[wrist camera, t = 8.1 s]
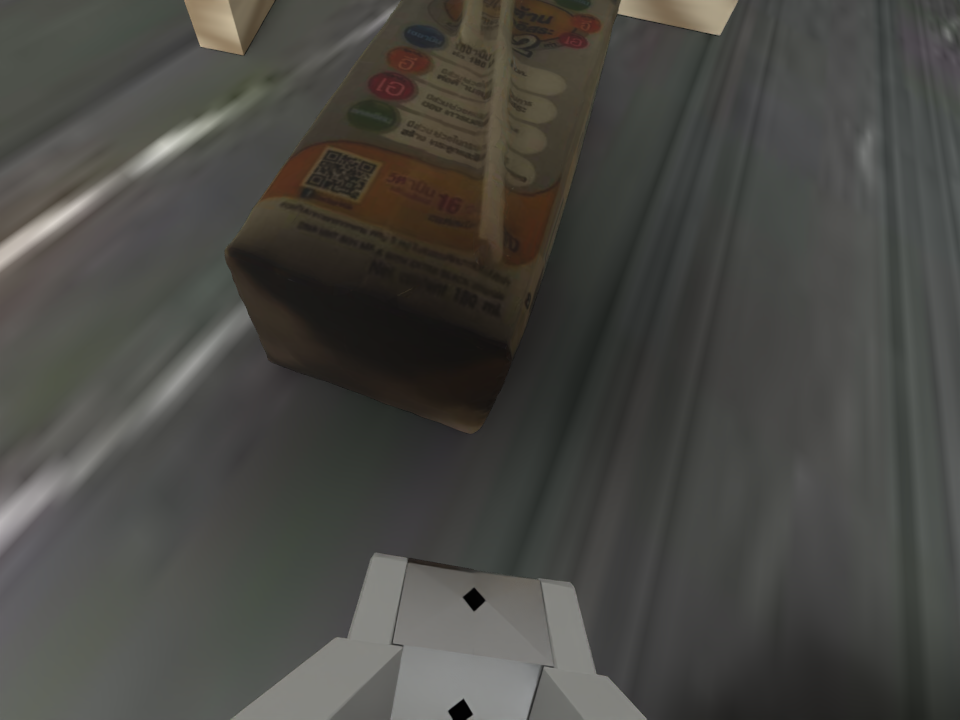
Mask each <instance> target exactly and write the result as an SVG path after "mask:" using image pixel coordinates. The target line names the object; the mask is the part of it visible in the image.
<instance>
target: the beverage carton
mask: <svg viewBox="0 0 960 720" xmlns="http://www.w3.org/2000/svg"><path fill="white" fill-rule="evenodd" d="M620 2H621V0H401V1H400V3H399V4H398V6H397V7H396V9H395V10H394V12H393V13H392V14H391V15H390V17H389V19H388V20H387V22H386V23H385V25H384V26H383V27H382V29H381V30H380V31H379V33H378V34H377V35H376V36H375V37H374V39H373V40H372V41H371V43H370V44H369V45H368V47H367V48H366V50H365V51H364V52H363V54H362V55H361V56H360V58H359V59H358V60H357V62H356V63H355V64H354V65H353V67H352V69H351V70H350V72H349V73H348V75H347V76H346V78H345V79H344V81H343V82H342V84H341V85H340V87H339V88H338V89H337V90H336V92H335V93H334V94H333V95H332V97H331V98H330V99H329V101H328V102H327V104H326V105H325V107H324V108H323V109H322V111H321V112H320V114H319V115H318V117H317V118H316V120H315V121H314V123H313V125H312V126H311V128H310V129H309V130H308V132H307V133H306V134H305V136H304V137H303V138H302V140H301V141H300V142H299V144H298V145H297V147H296V148H295V150H294V151H293V153H292V154H291V156H290V157H289V158H288V160H287V161H286V162H285V164H284V165H283V166H282V168H281V169H280V171H279V172H278V174H277V175H276V177H275V178H274V180H273V181H272V182H271V184H270V185H269V187H268V188H267V190H266V191H265V192H264V194H263V195H262V197H261V198H260V200H259V201H258V202H257V204H256V205H255V206H254V207H253V209H252V211H251V213H250V215H249V217H248V218H247V220H246V222H245V223H244V225H243V227H242V229H241V230H240V231H239V233H238V234H237V235H236V237H235V238H234V239H233V241H232V242H231V243H230V244H229V245H228V246H227V247H226V249H225V259H226V263H227V265H228V267H229V269H230V271H231V273H232V277H233V280H234V282H235V284H236V287H237V289H238V292H239V295H240V297H241V299H242V301H243V302H244V304H245V306H246V308H247V311H248V314H249V316H250V318H251V320H252V323H253V324H254V326H255V328H256V330H257V332H258V334H259V338H260V341H261V343H262V346H263V348H264V350H265V352H266V354H267V358H268V360H269V361H271V362H272V363H275V364H277V365H280V366H283V367H285V368H288V369H291V370H293V371H296V372H299V373H301V374H305V375H308V376H311V377H314V378H318V379H321V380H324V381H327V382H330V383H332V384H335V385H338V386H340V387H343V388H346V389H348V390H351V391H354V392H357V393H360V394H362V395H365V396H368V397H370V398H373V399H375V400H377V401H380V402H382V403H384V404H387V405H390V406H394V407H397V408H400V409H403V410H406V411H409V412H412V413H414V414H416V415H418V416H421V417H423V418H426V419H430V420H433V421H436V422H439V423H441V424H444V425H447V426H449V427H452V428H454V429H457V430H459V431H462V432H464V433H470V434H472V433H474V432H476V431H477V430H479V429H480V428H481V426H482V425H483V424H484V422H485V420H486V418H487V416H488V414H489V412H490V410H491V409H492V406H493V404H494V403H495V400H496V398H497V395H498V394H499V392H500V390H501V388H502V386H503V384H504V382H505V378H506V376H507V373H508V371H509V368H510V366H511V363H512V360H513V358H514V355H515V353H516V350H517V348H518V345H519V343H520V340H521V338H522V335H523V333H524V330H525V328H526V325H527V322H528V319H529V316H530V314H531V311H532V308H533V305H534V302H535V300H536V296H537V293H538V290H539V287H540V284H541V281H542V278H543V275H544V272H545V269H546V266H547V263H548V260H549V257H550V254H551V251H552V247H553V244H554V241H555V237H556V234H557V231H558V228H559V224H560V221H561V218H562V214H563V211H564V207H565V204H566V200H567V197H568V193H569V190H570V187H571V183H572V180H573V176H574V173H575V170H576V166H577V163H578V159H579V156H580V152H581V149H582V145H583V141H584V138H585V134H586V130H587V127H588V123H589V120H590V116H591V112H592V108H593V104H594V100H595V96H596V92H597V88H598V84H599V81H600V77H601V73H602V69H603V65H604V61H605V57H606V53H607V49H608V45H609V41H610V36H611V31H612V26H613V24H614V21H615V19H616V16H617V13H618V11H619V5H620Z"/></svg>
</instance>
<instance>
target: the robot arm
mask: <svg viewBox="0 0 960 720" xmlns="http://www.w3.org/2000/svg"><path fill="white" fill-rule="evenodd" d="M407 560H408V564H407ZM406 567H407V569H406ZM405 573H406V574H405ZM230 720H647V718H646V717H645V716H644V715H643V714H642V713H641V712H640V711H639V710H638V709H637V708H636V707H635V705H634V704H633V703H632V702H631V701H630V700H629V699H628V698H627V697H626V696H625V695H624V694H623V692H622V691H621V690H620V689H619V688H618V687H617V686H616V685H615V684H614V683H613V682H612V681H611V680H610V678H609V677H608V676H603V675H597V673H596V670H595V666H594V662H593V658H592V654H591V650H590V646H589V642H588V638H587V634H586V630H585V627H584V623H583V619H582V615H581V611H580V607H579V603H578V599H577V595H576V591H575V587H574V586H573V585H572V584H571V583H570V582H564V581H556V580H549V579H541V578H538V579H533V578H526V577H519V576H513V575H506V574H499V573H492V572H486V571H479V570H474V569H469V568H463V567H458V566H452V565H446V564H441V563H435V562H430V561H424V560H418V559H413V558H409V559H407V558H405V557H399V556H393V555H387V554H381V553H374V554H373V556H372V558H371V560H370V563H369V567H368V570H367V573H366V577H365V580H364V583H363V587H362V590H361V593H360V597H359V600H358V603H357V607H356V610H355V613H354V617H353V620H352V623H351V627H350V630H349V633H348V637H347V638H339V637H335V638H334V639H333V640H332V641H330V642H329V643H328V644H326V645H325V646H324V647H323V648H321V649H320V650H319V651H317V652H316V653H315V654H314V655H312V656H311V657H310V658H308V659H307V660H306V661H305V662H303V663H302V664H301V665H300V666H298V667H297V668H296V669H294V670H293V671H292V672H291V673H289V674H288V675H287V676H285V677H284V678H283V679H282V680H280V681H279V682H278V683H276V684H275V685H274V686H273V687H271V688H270V689H269V690H267V691H266V692H265V693H264V694H262V695H261V696H260V697H258V698H257V699H256V700H255V701H253V702H252V703H251V704H250V705H248V706H247V707H246V708H244V709H243V710H242V711H241V712H239V713H238V714H237V715H235V716H234V717H233V718H232V719H230Z"/></svg>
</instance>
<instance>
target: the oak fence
mask: <svg viewBox="0 0 960 720" xmlns="http://www.w3.org/2000/svg"><path fill="white" fill-rule="evenodd" d="M184 1H185V4H186V7H187V9H188V12H189V15H190V18H191V21H192V24H193V27H194V30H195V32H196V35H197V38H198V41H199V44H200V47H205V48H210V49H215V50H220V51H225V52H230V53H235V54H240V55H244V54H245V52H246V50H247V49H248V47H249V45H250V43H251V42H252V40H253V38H254V36H255V35H256V33H257V31H258V29H259V28H260V26H261V24H262V22H263V21H264V19H265V17H266V15H267V14H268V12H269V10H270V8H271V7H272V5H273V3H274V1H275V0H184ZM737 2H738V0H621V2H620V5H619V11H618V13H617V14H620V15H625V16H630V17H634V18H639V19H644V20H649V21H653V22H658V23H663V24H667V25H672V26H677V27H681V28H686V29H691V30H695V31H700V32H705V33H710V34H714V35H719V36H720V34H721V33H722V31H723V29H724V27H725V25H726V23H727V21H728V19H729V17H730V15H731V14H732V12H733V10H734V8H735V6H736V4H737Z"/></svg>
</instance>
